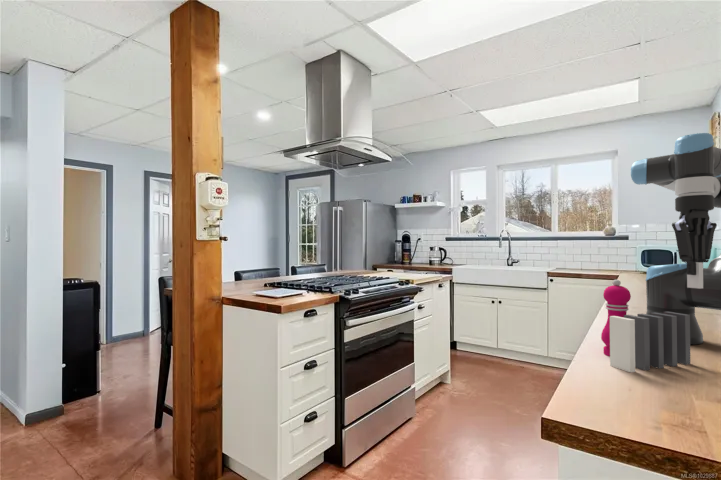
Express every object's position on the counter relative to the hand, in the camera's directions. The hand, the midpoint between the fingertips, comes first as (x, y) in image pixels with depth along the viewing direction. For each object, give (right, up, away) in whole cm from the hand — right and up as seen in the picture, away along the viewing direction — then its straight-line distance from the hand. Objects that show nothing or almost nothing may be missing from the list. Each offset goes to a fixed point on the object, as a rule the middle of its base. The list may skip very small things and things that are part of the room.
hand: (695, 287), depth 98 cm
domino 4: (-6, -18, -2) cm, 19 cm away
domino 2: (-15, -18, -5) cm, 24 cm away
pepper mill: (-18, -19, +3) cm, 26 cm away
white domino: (-24, -18, -7) cm, 31 cm away
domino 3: (-11, -18, -3) cm, 21 cm away
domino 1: (-19, -18, -6) cm, 27 cm away
